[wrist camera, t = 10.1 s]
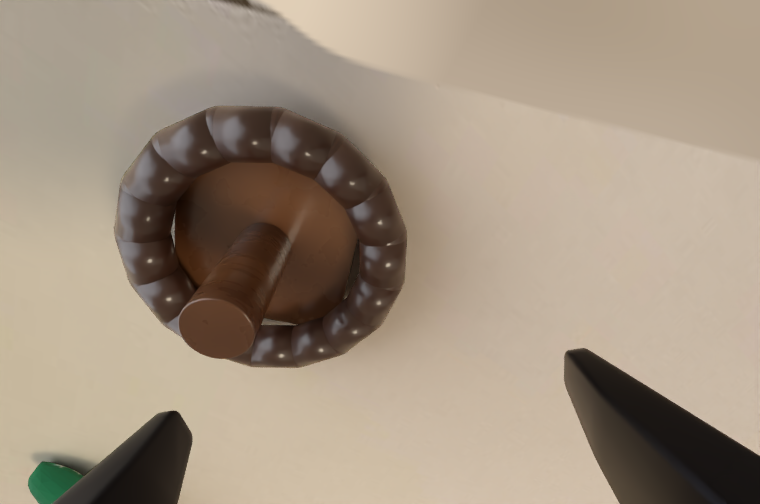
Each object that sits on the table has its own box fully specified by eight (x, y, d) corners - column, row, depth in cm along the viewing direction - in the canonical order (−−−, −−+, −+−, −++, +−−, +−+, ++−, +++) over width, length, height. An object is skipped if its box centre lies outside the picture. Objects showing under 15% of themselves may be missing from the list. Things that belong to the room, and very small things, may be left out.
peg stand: (187, 132, 17) (68, 182, 10) (371, 175, 18) (366, 247, 11) (184, 288, 20) (94, 397, 14) (337, 317, 21) (319, 434, 15)
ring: (338, 51, 14) (332, 50, 12) (439, 306, 19) (445, 332, 18) (72, 170, 16) (34, 185, 14) (227, 374, 21) (213, 403, 20)
